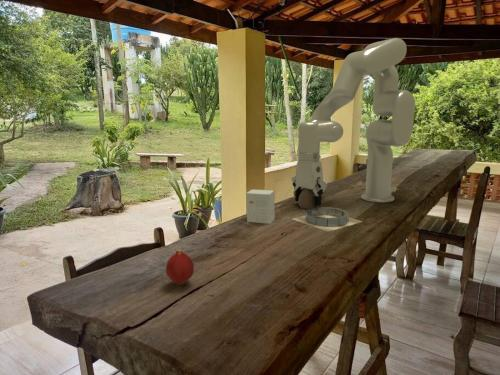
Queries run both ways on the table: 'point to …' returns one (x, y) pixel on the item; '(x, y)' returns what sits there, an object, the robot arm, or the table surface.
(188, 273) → the onion
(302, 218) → the birch board
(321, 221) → the ring collar
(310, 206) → the vase
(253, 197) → the small box
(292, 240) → the table surface
